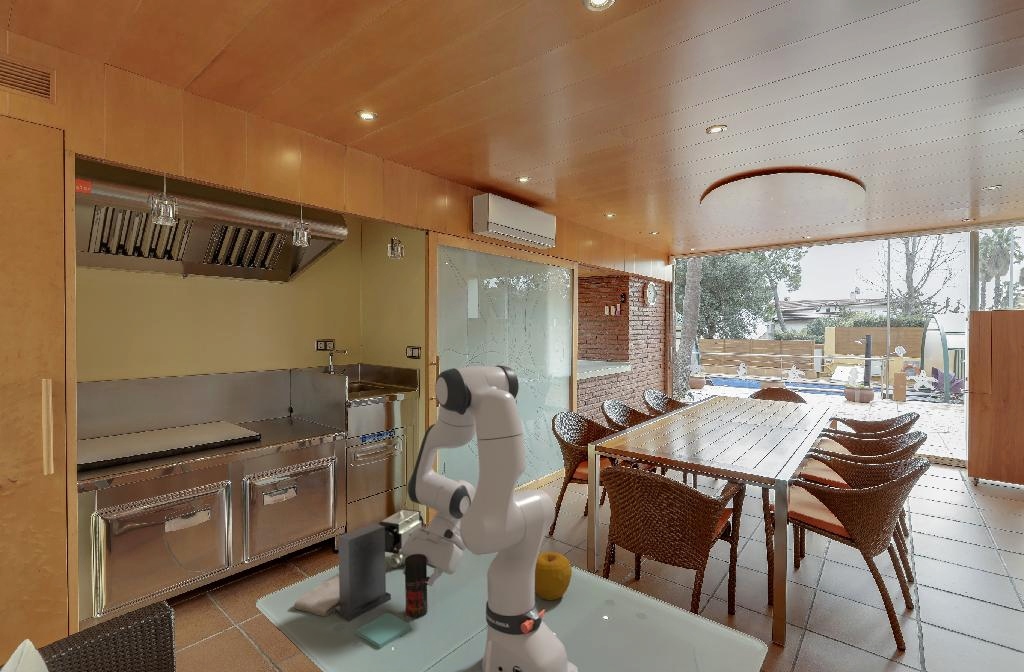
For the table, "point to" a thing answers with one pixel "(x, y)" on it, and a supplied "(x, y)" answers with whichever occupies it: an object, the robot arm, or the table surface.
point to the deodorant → (416, 585)
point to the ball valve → (400, 533)
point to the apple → (552, 575)
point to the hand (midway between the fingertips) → (416, 579)
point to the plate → (383, 630)
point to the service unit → (361, 571)
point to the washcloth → (321, 598)
